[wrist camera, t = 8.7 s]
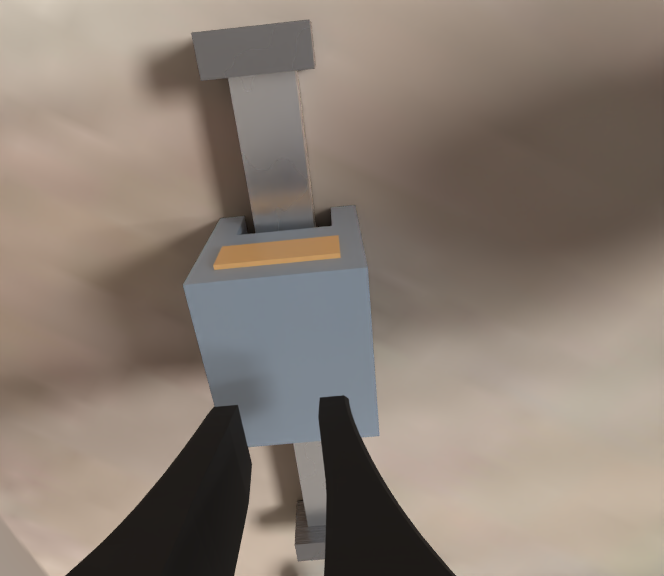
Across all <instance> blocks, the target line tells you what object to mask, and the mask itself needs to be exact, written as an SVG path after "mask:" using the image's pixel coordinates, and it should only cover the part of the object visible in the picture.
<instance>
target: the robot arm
mask: <svg viewBox="0 0 664 576" xmlns="http://www.w3.org/2000/svg"><path fill="white" fill-rule="evenodd" d="M318 419H319V428H320V436H321V445H322V454H323V462H324V471H325V479H326V538H325V568H324V576H456V575H455V574H454V573H453V572H452V571H451V570H450V569H449V567H448V566H447V565H446V564H445V563H444V561H443V560H442V559H441V558H440V557H439V556H438V554H437V553H436V552H435V551H434V550H433V548H432V547H431V546H430V545H429V544H428V542H427V541H426V540H425V539H424V538H423V536H422V535H421V534H420V533H419V531H418V530H417V529H416V527H415V526H414V525H413V523H412V522H411V521H410V519H409V518H408V517H407V515H406V514H405V512H404V511H403V509H402V508H401V507H400V505H399V504H398V502H397V501H396V499H395V498H394V496H393V495H392V493H391V491H390V490H389V488H388V487H387V485H386V483H385V482H384V480H383V478H382V477H381V475H380V473H379V472H378V470H377V468H376V466H375V464H374V462H373V461H372V459H371V457H370V455H369V453H368V451H367V449H366V447H365V445H364V443H363V441H362V438H361V436H360V434H359V431H358V429H357V426H356V424H355V421H354V418H353V415H352V412H351V408H350V404H349V398H347V397H346V396H344V395H342V396H330V397H320V401H319V414H318ZM251 469H252V462H251V458H250V454H249V450H248V446H247V441H246V437H245V433H244V429H243V424H242V420H241V416H240V412H239V407H238V405H229V406H218V407H213V409H212V410H211V411H210V412H209V414H208V415H207V416H206V418H205V419H204V421H203V422H202V423H201V425H200V426H199V428H198V429H197V430H196V432H195V433H194V435H193V436H192V437H191V439H190V440H189V442H188V443H187V444H186V446H185V447H184V448H183V450H182V451H181V452H180V454H179V455H178V456H177V458H176V459H175V460H174V461H173V463H172V464H171V465H170V467H169V468H168V469H167V471H166V472H165V473H164V474H163V476H162V477H161V478H160V479H159V480H158V482H157V483H156V484H155V485H154V486H153V488H152V489H151V490H150V491H149V492H148V493H147V495H146V496H145V497H144V498H143V499H142V501H141V502H140V503H139V504H138V505H137V506H136V507H135V509H134V510H133V511H132V512H131V513H130V514H129V515H128V516H127V517H126V518H125V519H124V520H123V522H122V523H121V524H120V525H119V526H118V527H117V528H116V529H115V530H114V531H113V532H112V533H111V534H110V535H109V536H108V537H107V538H106V539H105V540H104V541H103V542H102V543H101V544H100V545H99V546H98V547H97V548H95V549H94V550H93V551H92V552H91V553H90V554H89V555H88V556H87V557H86V558H84V559H83V560H82V561H81V562H80V563H79V564H78V565H77V566H76V567H74V568H73V569H72V570H71V571H70V572H69V573H68V574H67V575H66V576H234V573H235V568H236V564H237V559H238V554H239V549H240V544H241V539H242V534H243V529H244V524H245V519H246V514H247V509H248V504H249V494H250V483H251Z"/></svg>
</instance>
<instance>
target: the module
mask: <svg viewBox="0 0 664 576" xmlns="http://www.w3.org/2000/svg"><path fill="white" fill-rule="evenodd" d="M331 220H332V226H325V227H315V228H305V229H295V230H284V231H274V232H264V233H254V234H248V232H247V227H246V222H245V216H239V217H229V218H220V220H219V222H218V223H217V225H216V227H215V229H214V230H213V232H212V234H211V236H210V237H209V239H208V241H207V243H206V245H205V246H204V248H203V250H202V252H201V253H200V255H199V257H198V259H197V261H196V262H195V264H194V266H193V268H192V269H191V271H190V273H189V275H188V277H187V278H186V280H185V282H184V284H183V288H184V291H185V295H186V299H187V303H188V307H189V310H190V314H191V318H192V322H193V326H194V330H195V333H196V337H197V341H198V345H199V349H200V352H201V356H202V360H203V364H204V368H205V371H206V375H207V379H208V383H209V387H210V390H211V394H212V398H213V402H214V406H215V407H218V406H229V405H238V407H239V412H240V416H241V420H242V424H243V429H244V433H245V437H246V441H247V446H248V447H256V446H268V445H279V444H291V443H303V442H314V441H321V436H320V428H319V419H318V414H319V401H320V397H330V396H342V395H344V396H346V397H347V398H349V404H350V408H351V412H352V415H353V418H354V421H355V424H356V426H357V429H358V431H359V434H360V436H361V437H373V436H379V422H378V408H377V394H376V379H375V365H374V350H373V336H372V321H371V307H370V292H369V278H368V266H367V261H366V256H365V251H364V246H363V241H362V236H361V231H360V226H359V221H358V216H357V211H356V206H355V205H350V206H340V207H331Z"/></svg>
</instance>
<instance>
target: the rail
mask: <svg viewBox="0 0 664 576" xmlns="http://www.w3.org/2000/svg"><path fill="white" fill-rule="evenodd" d="M191 34H192V39H193V44H194V49H195V54H196V59H197V64H198V69H199V74H200V79H201V81H204V80H213V79H222V78H228V81H229V87H230V93H231V98H232V104H233V109H234V115H235V121H236V126H237V132H238V137H239V143H240V149H241V154H242V160H243V165H244V171H245V177H246V182H247V188H248V193H249V199H250V204H251V210H252V216H253V221H254V227H255V232H256V233H264V232H274V231H284V230H295V229H305V228H315V227H316V223H315V214H314V206H313V197H312V189H311V180H310V172H309V164H308V155H307V147H306V138H305V130H304V121H303V113H302V104H301V96H300V88H299V79H298V71H297V70H306V69H315V65H316V64H315V54H314V45H313V35H312V25H311V21H310V20H302V21H293V22H284V23H275V24H266V25H257V26H247V27H238V28H229V29H220V30H211V31H202V32H193V33H191ZM293 445H294V451H295V456H296V462H297V468H298V473H299V479H300V484H301V490H302V496H303V501H297V512H296V530H295V549H296V554H297V559H298V561H307V560H320V559H325V538H326V479H325V471H324V462H323V454H322V445H321V441H314V442H303V443H293Z"/></svg>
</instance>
